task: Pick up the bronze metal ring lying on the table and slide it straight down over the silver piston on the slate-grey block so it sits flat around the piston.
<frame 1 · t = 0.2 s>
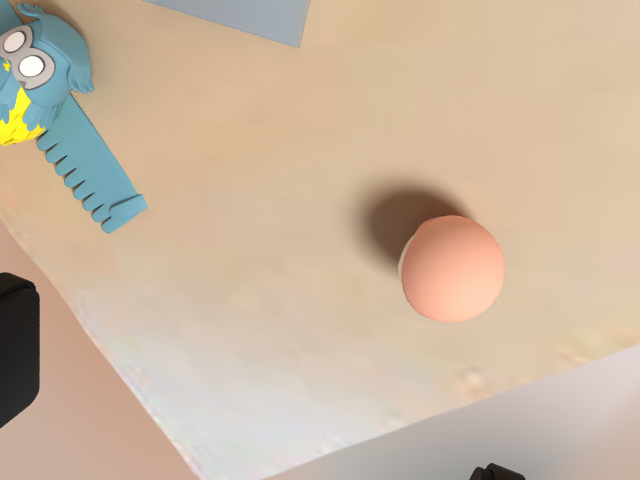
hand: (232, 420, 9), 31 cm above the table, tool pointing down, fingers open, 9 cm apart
toy parrot figure: (53, 88, 45), on the table
toy ball: (450, 248, 39), on the table
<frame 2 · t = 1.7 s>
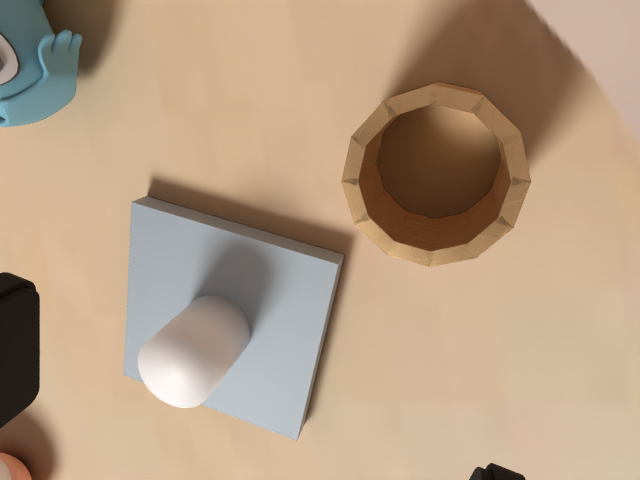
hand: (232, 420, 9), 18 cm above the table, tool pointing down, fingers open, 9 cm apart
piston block: (228, 315, 31), on the table
ring: (436, 160, 24), on the table
toy ball: (20, 466, 43), on the table
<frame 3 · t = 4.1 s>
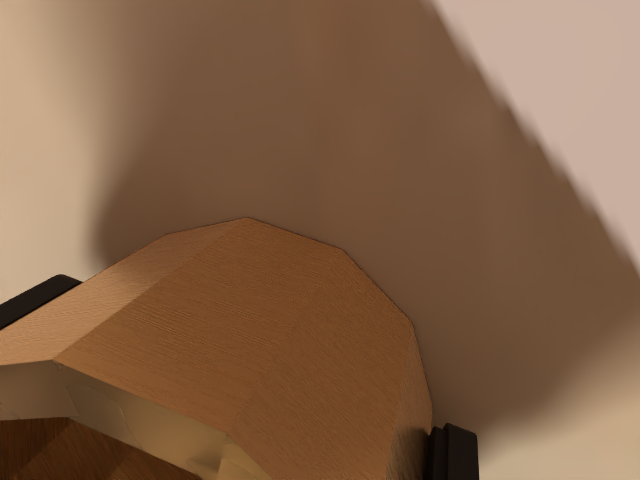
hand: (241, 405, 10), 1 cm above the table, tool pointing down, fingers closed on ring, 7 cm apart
ring: (259, 379, 11), on the table, touching gripper
when the fingers open (4 cm above the table, at t = 10.5 s): ring drops 1 cm, resting on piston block.
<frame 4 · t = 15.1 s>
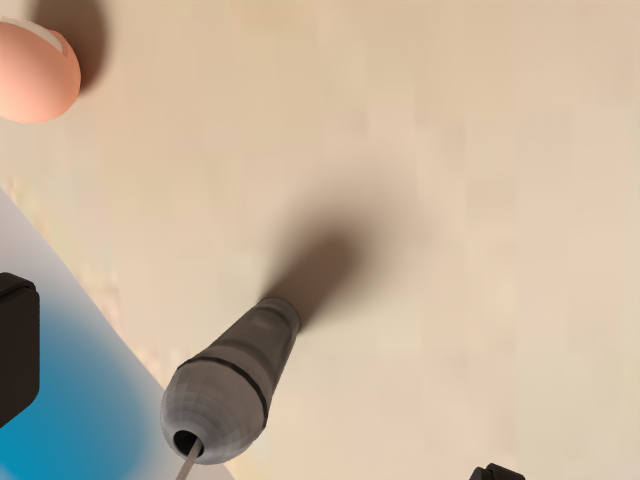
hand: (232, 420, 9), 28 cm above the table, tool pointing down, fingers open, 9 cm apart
beverage cup: (277, 319, 43), on the table
toy ball: (64, 70, 40), on the table
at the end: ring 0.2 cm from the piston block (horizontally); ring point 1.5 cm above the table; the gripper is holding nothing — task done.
